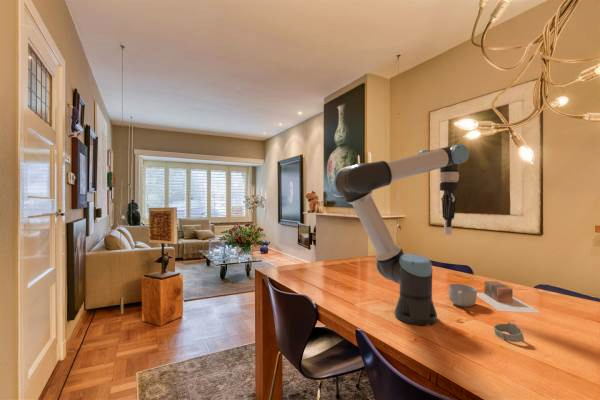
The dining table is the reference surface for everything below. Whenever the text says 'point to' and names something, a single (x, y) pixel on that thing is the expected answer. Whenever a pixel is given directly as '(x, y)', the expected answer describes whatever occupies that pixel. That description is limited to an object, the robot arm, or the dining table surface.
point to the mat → (508, 305)
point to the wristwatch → (510, 328)
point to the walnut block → (499, 292)
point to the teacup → (462, 294)
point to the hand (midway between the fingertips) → (447, 234)
